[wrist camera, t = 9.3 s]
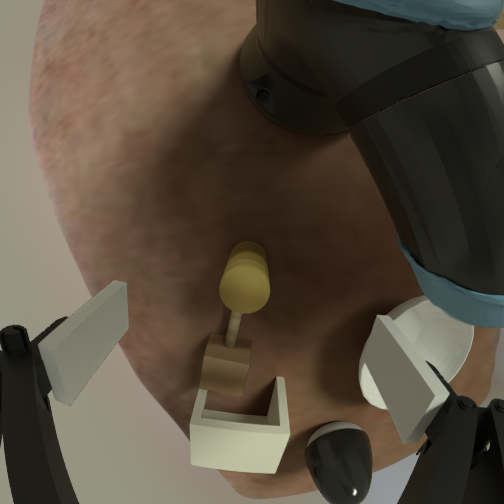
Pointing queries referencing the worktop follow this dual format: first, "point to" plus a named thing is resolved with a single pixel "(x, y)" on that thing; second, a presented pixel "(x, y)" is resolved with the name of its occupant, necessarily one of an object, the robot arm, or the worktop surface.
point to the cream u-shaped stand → (240, 436)
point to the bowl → (425, 342)
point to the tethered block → (236, 319)
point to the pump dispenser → (340, 462)
